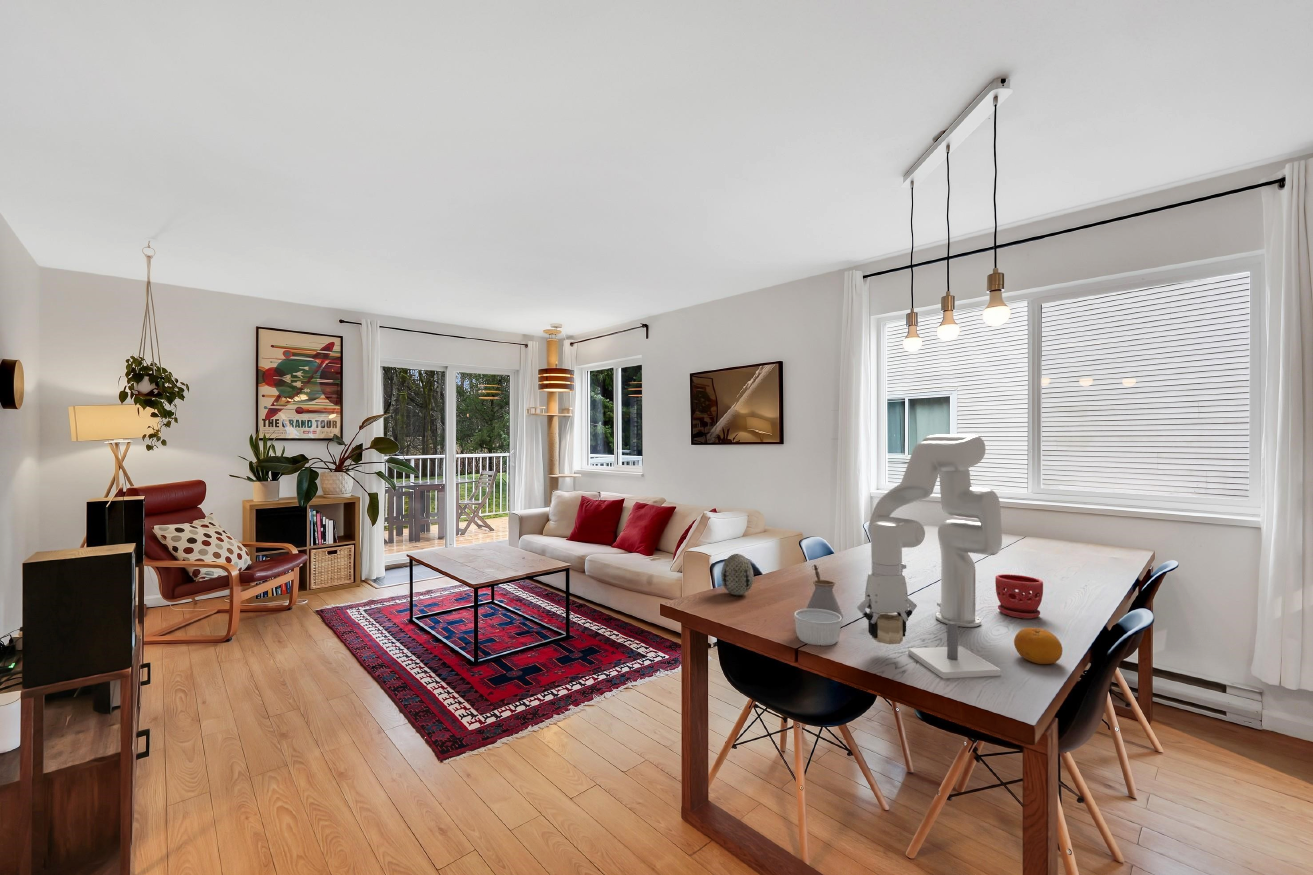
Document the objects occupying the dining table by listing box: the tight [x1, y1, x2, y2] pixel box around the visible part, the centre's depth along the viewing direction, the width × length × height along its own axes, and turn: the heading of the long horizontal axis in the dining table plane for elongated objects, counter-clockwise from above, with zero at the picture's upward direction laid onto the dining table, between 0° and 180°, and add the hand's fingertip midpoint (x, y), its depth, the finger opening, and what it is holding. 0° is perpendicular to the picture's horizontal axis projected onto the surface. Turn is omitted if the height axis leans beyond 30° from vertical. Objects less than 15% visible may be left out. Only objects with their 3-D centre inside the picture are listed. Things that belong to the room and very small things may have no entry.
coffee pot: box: [805, 564, 844, 620], centre depth 178 cm, size 21×12×15 cm, turn 174°
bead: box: [871, 613, 904, 645], centre depth 148 cm, size 7×7×6 cm
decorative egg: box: [720, 553, 755, 596], centre depth 205 cm, size 12×12×15 cm
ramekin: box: [793, 608, 843, 647], centre depth 160 cm, size 13×13×7 cm
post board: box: [907, 622, 1002, 679], centre depth 143 cm, size 15×15×10 cm
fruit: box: [1013, 627, 1063, 665], centre depth 145 cm, size 10×10×8 cm
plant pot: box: [994, 573, 1044, 620], centre depth 183 cm, size 13×13×12 cm
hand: (887, 635), depth 148 cm, fingers closed on bead, 7 cm apart
